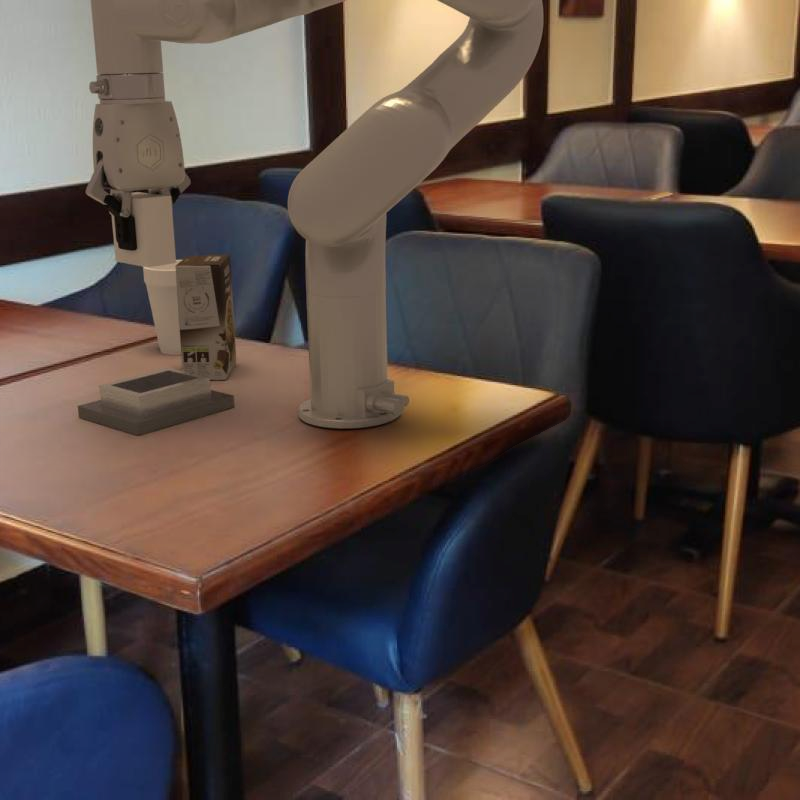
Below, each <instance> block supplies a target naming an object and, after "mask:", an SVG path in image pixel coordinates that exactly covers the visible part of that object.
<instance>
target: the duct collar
mask: <svg viewBox="0 0 800 800" xmlns="http://www.w3.org/2000/svg"><path fill="white" fill-rule="evenodd" d="M211 386H212V385H211V380H210V377H206V376H202V375H198V374H194V373H190V372H186V371H182V369H176V368H173V367H167V368H164V369H159V370H155V371H152V372H148V373H143V374H140V375H135V376H131V377H128V378H124V379H120V380H116V381H112V382H108V383H104V384H101V385H98V389H99V399H98V400H96V401H91V402H87V403H84V404H80V405H77V411H78V412H77V413H78V418H80V419H82V420H86V421H89V422H93V423H96V424H100V425H102V426H105V427H108V428H111V429H113V430H114V429H115V430H117V431H121V432H124V433H128V434H131V435H134V436H137V437H138V436H141V435H145V434H148V433H149V434H150V433H153V432H154V431H159V430H162V429H165V428H168V427H172V426H175V425H179V424H183V423H185V422H189V421H192V420H195V419H199V418H203V417H206V416H210V415H213V414H216V413H219V412H223V411H226V410H229V409H233V408H235V395H232V394H229V393H224V392H220V391H217V390H212V387H211Z"/></svg>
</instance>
